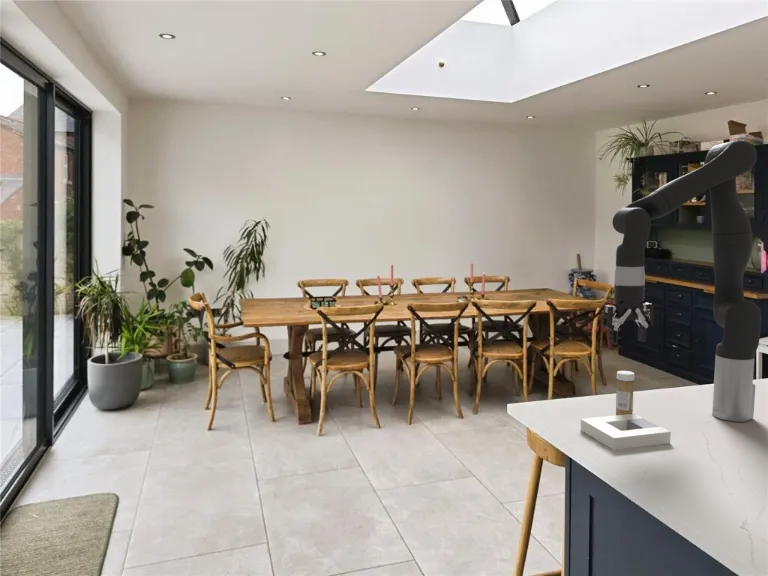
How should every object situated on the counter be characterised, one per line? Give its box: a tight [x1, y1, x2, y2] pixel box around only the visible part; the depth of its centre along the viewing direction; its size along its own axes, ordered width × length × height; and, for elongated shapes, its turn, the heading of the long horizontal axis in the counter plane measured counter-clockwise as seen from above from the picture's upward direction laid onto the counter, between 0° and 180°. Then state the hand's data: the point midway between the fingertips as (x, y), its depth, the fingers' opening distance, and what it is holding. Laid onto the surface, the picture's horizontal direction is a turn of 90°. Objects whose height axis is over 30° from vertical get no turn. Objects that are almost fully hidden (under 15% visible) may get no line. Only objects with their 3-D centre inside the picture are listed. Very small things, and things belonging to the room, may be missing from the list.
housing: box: [580, 413, 672, 451], centre depth 151 cm, size 16×14×3 cm
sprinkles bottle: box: [615, 370, 636, 416], centre depth 163 cm, size 5×5×14 cm
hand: (627, 342), depth 161 cm, fingers open, 8 cm apart
